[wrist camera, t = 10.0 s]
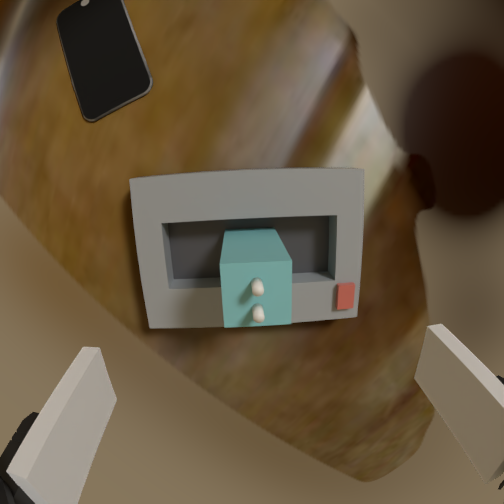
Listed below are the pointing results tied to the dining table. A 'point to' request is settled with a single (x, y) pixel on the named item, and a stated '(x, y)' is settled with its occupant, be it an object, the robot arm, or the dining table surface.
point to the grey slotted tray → (242, 217)
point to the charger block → (255, 278)
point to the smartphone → (103, 56)
